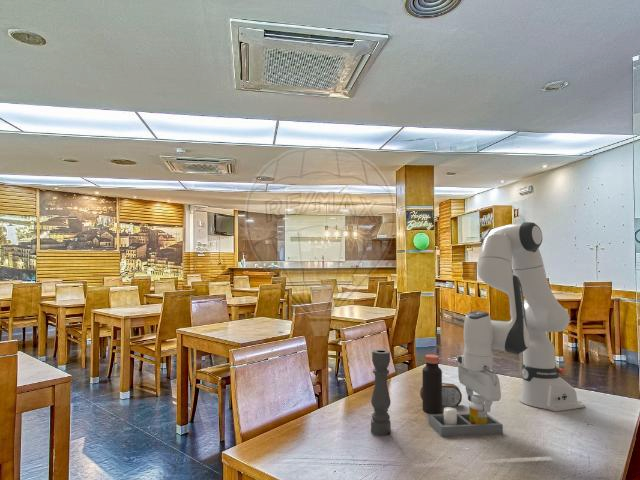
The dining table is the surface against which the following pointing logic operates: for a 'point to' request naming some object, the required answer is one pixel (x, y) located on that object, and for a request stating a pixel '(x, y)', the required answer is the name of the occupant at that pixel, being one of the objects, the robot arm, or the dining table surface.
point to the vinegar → (432, 385)
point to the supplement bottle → (477, 410)
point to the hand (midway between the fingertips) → (478, 406)
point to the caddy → (464, 426)
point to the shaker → (450, 416)
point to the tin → (448, 395)
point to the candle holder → (380, 394)
